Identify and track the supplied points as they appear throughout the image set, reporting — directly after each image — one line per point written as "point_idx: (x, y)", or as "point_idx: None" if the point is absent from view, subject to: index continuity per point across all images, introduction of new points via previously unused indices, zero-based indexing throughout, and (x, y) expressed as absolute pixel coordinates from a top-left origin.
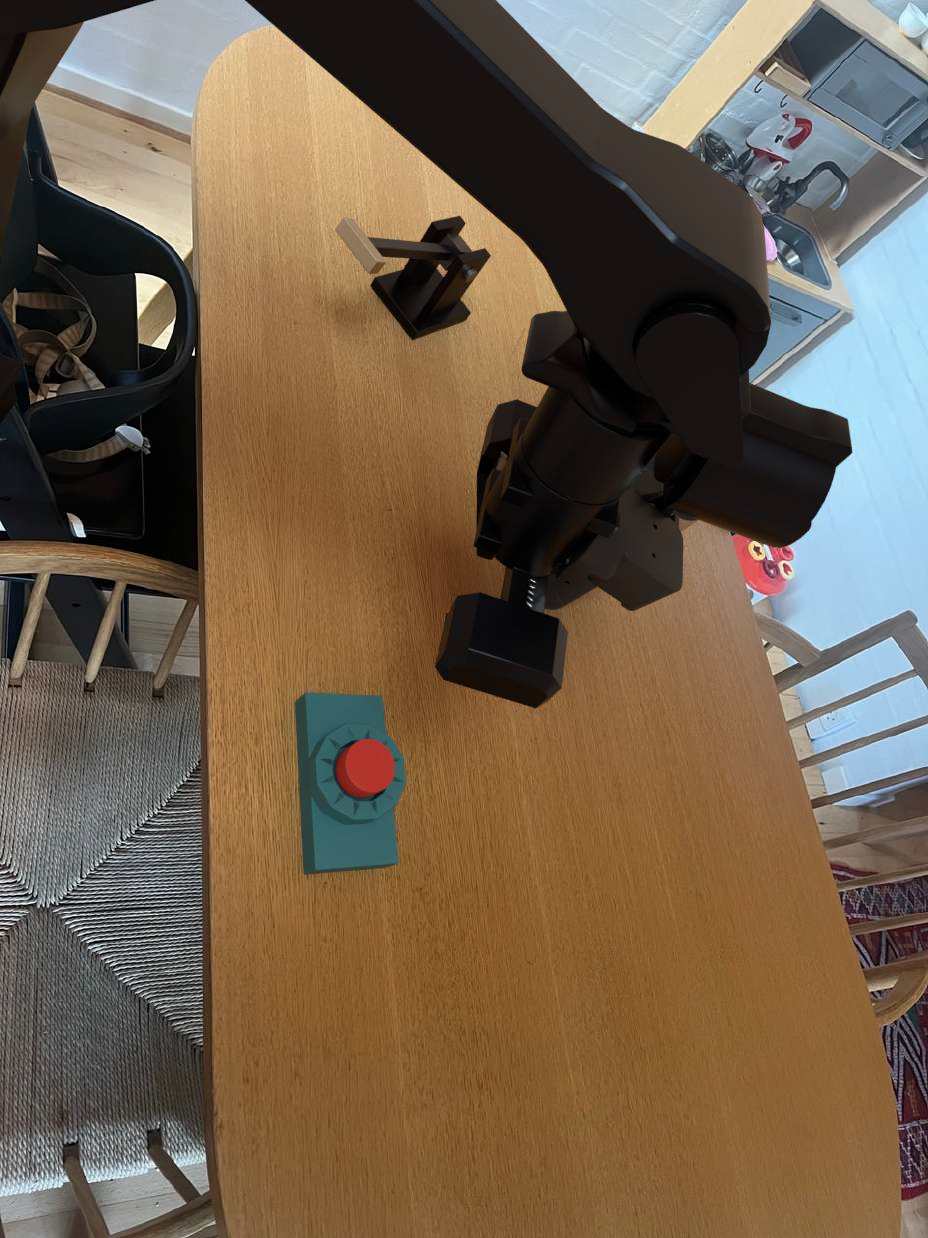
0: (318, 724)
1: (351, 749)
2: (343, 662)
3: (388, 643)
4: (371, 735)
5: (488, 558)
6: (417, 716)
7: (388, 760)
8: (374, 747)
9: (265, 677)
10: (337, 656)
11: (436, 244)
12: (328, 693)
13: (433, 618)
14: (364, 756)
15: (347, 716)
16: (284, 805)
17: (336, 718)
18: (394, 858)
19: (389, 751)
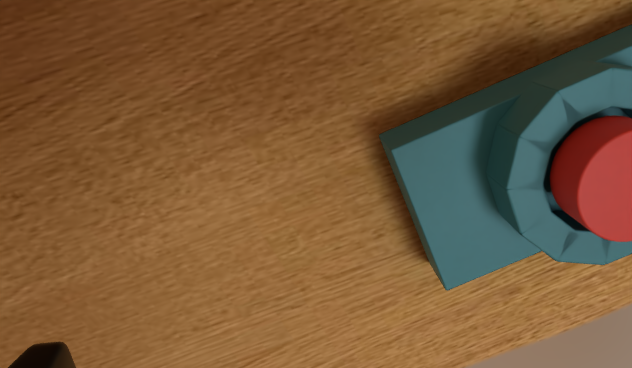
0: (498, 249)
1: (612, 237)
2: (316, 212)
3: (226, 140)
4: (531, 179)
5: (67, 362)
6: (358, 23)
7: (616, 152)
8: (595, 193)
9: (406, 319)
10: (310, 226)
11: None
12: (431, 252)
13: (98, 55)
14: (620, 206)
15: (463, 204)
16: None
17: (475, 222)
18: None
19: (595, 156)
